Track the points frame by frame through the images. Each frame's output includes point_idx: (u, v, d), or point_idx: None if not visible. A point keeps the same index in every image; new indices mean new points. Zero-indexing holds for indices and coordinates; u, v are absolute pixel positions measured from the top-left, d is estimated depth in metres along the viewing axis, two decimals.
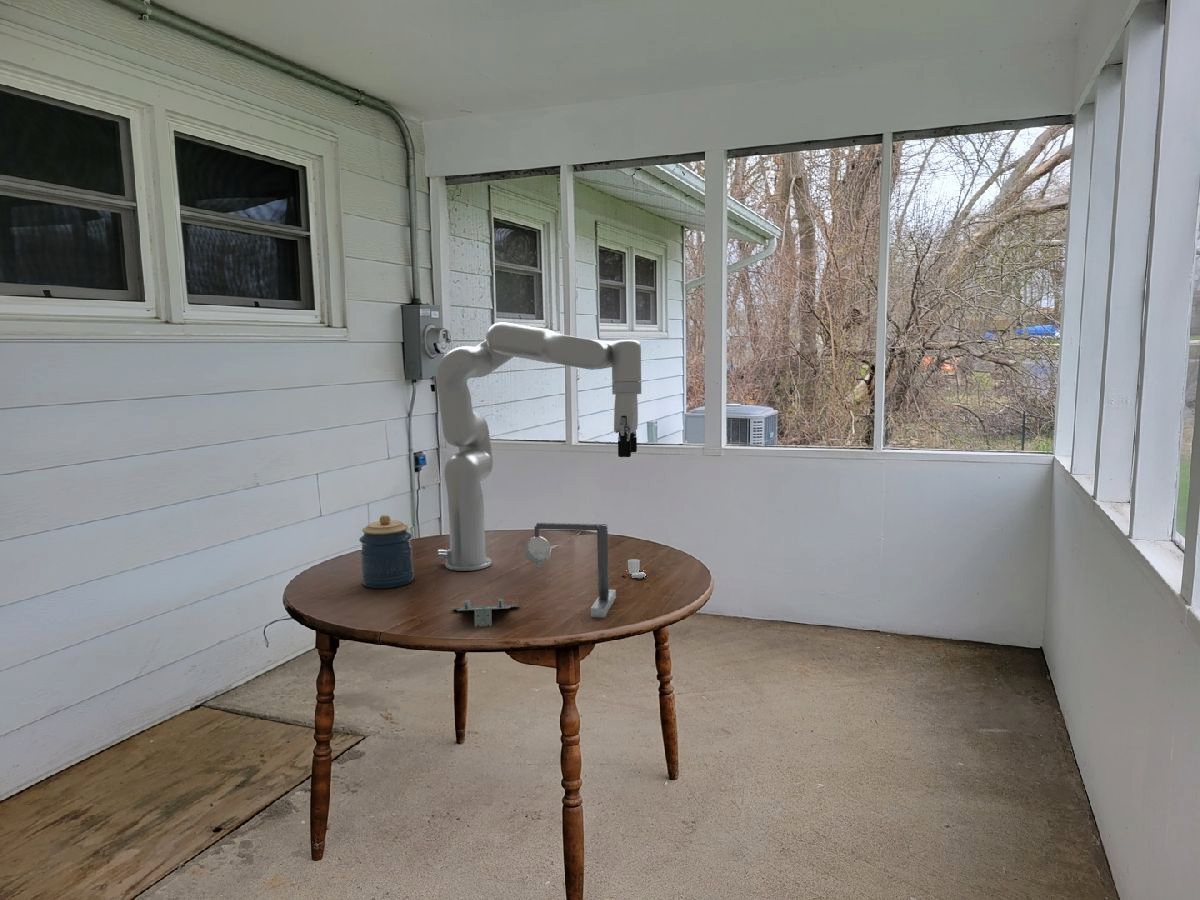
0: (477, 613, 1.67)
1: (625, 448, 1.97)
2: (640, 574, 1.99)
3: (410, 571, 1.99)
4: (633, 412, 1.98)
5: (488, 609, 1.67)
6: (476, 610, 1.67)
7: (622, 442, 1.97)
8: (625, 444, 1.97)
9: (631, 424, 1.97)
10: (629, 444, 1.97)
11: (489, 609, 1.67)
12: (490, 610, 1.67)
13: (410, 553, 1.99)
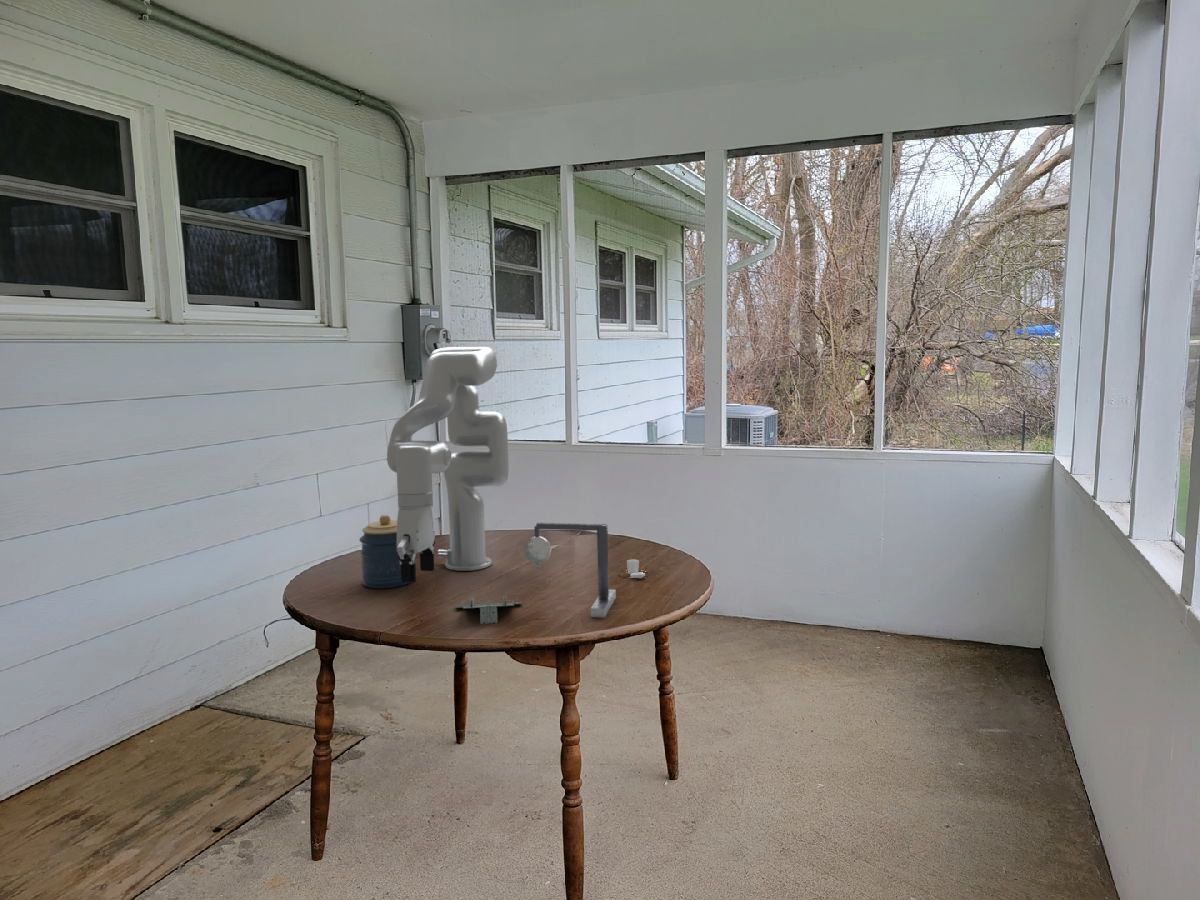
0: (483, 610, 1.69)
1: (408, 572, 1.68)
2: (639, 574, 1.99)
3: None
4: (419, 530, 1.69)
5: (493, 606, 1.69)
6: (482, 608, 1.69)
7: (404, 565, 1.68)
8: (408, 568, 1.68)
9: (415, 544, 1.68)
10: (413, 567, 1.68)
11: (494, 606, 1.69)
12: (495, 607, 1.69)
13: None
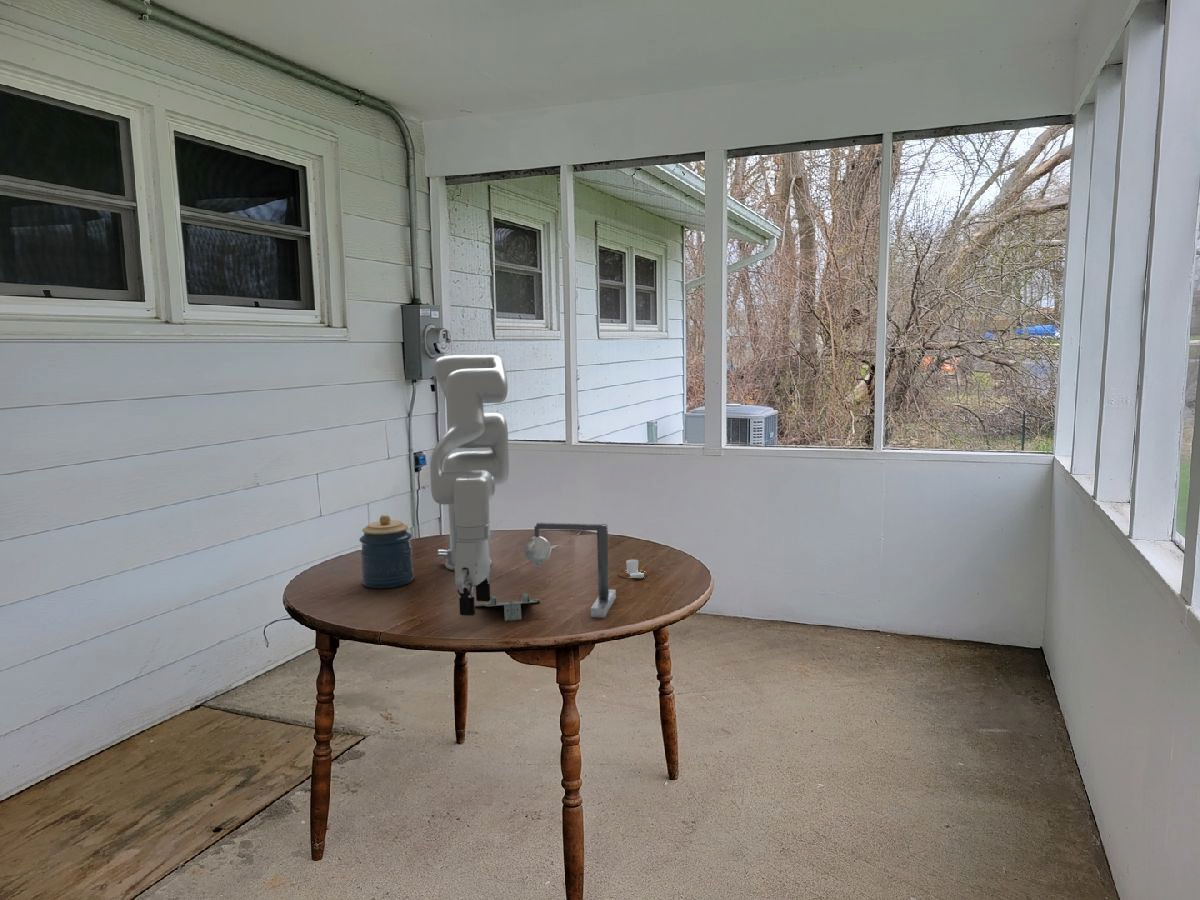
0: (507, 608, 1.70)
1: (467, 606, 1.67)
2: (638, 574, 1.99)
3: (410, 571, 1.99)
4: (477, 562, 1.68)
5: (517, 604, 1.71)
6: (506, 605, 1.70)
7: (463, 599, 1.67)
8: (467, 601, 1.67)
9: (474, 577, 1.67)
10: (472, 600, 1.67)
11: (518, 604, 1.71)
12: (519, 604, 1.71)
13: (410, 553, 1.99)
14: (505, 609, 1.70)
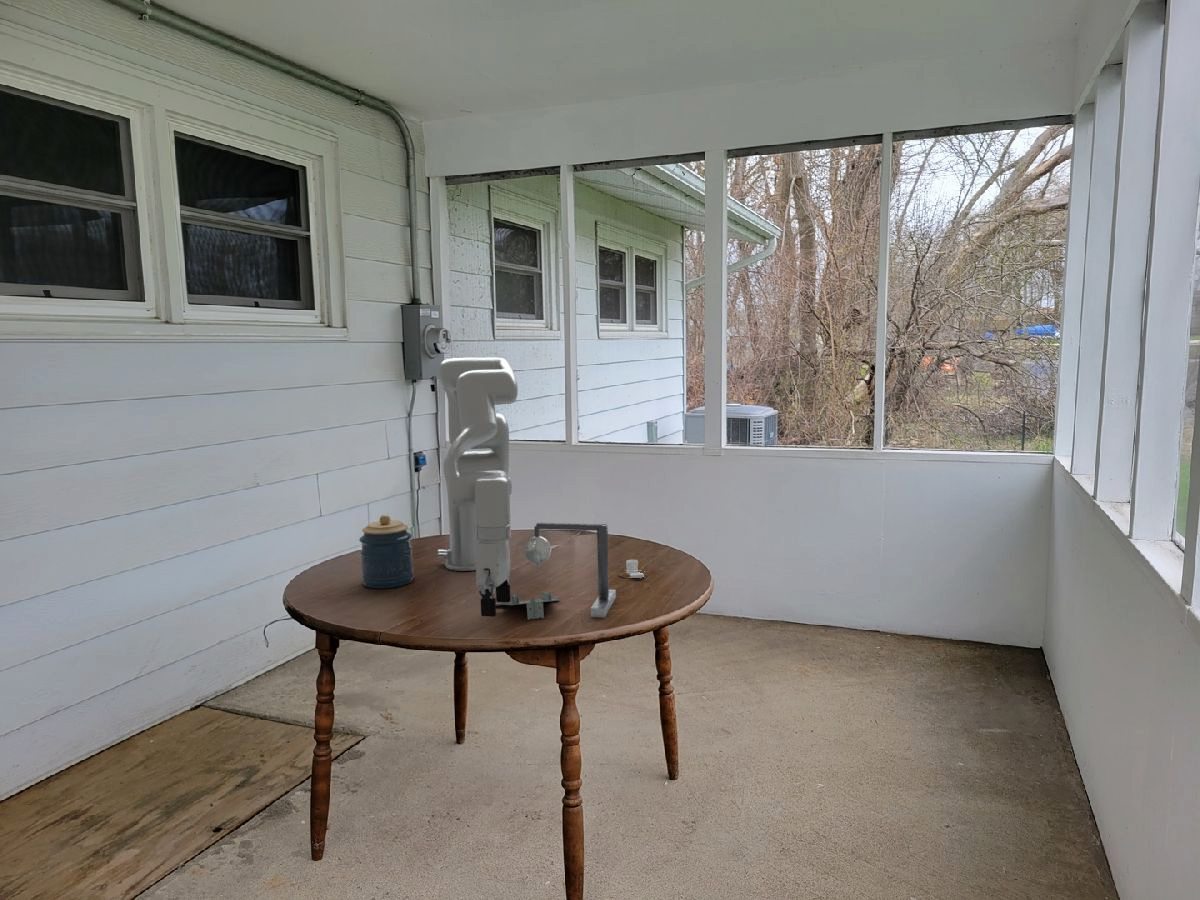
0: (529, 606, 1.71)
1: (488, 607, 1.66)
2: (638, 574, 1.98)
3: (410, 571, 1.99)
4: (498, 563, 1.67)
5: (540, 602, 1.72)
6: (528, 603, 1.71)
7: (485, 600, 1.66)
8: (488, 602, 1.66)
9: (495, 578, 1.66)
10: (494, 601, 1.66)
11: (541, 602, 1.72)
12: (541, 603, 1.72)
13: (410, 553, 1.99)
14: (528, 608, 1.71)
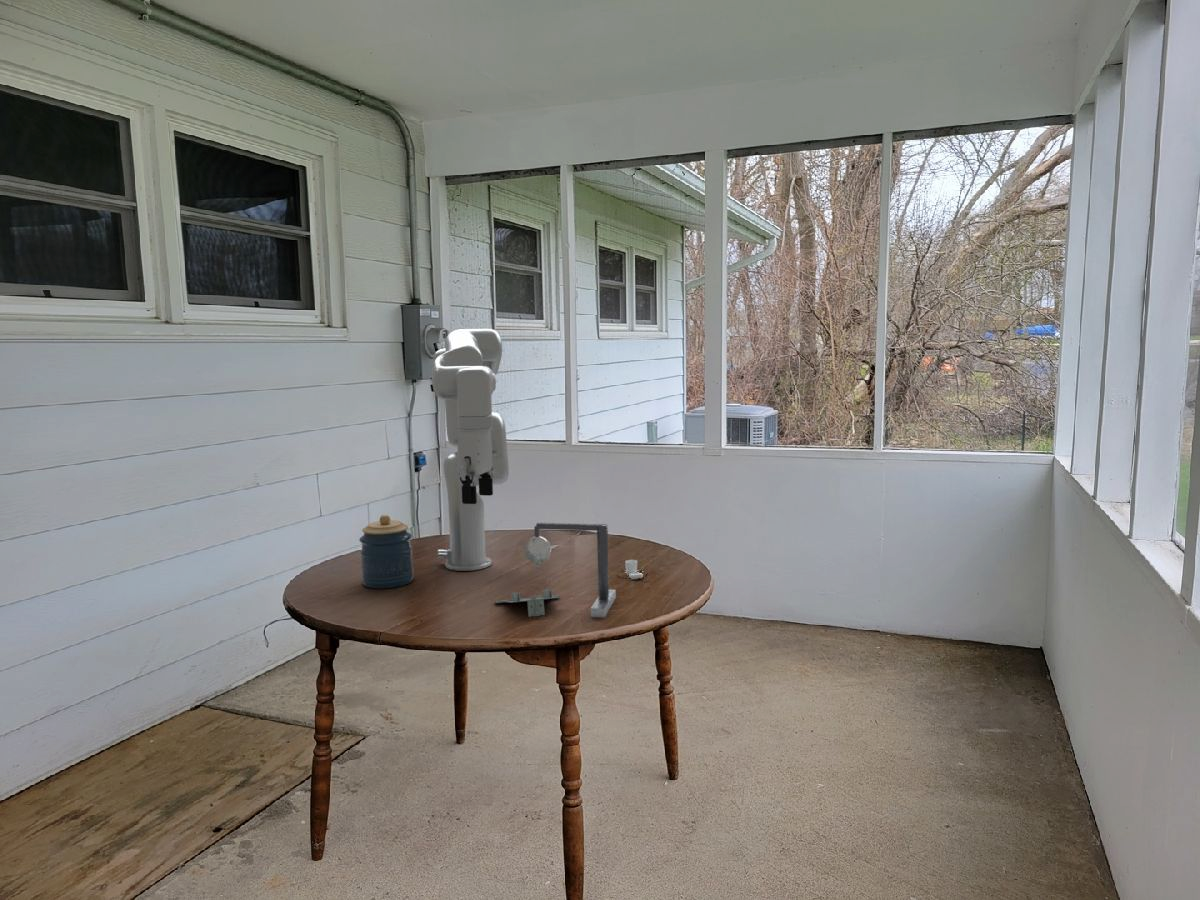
0: (530, 604, 1.73)
1: (469, 494, 1.70)
2: (637, 575, 1.98)
3: (410, 571, 1.99)
4: (479, 452, 1.70)
5: (540, 599, 1.73)
6: (529, 601, 1.73)
7: (465, 487, 1.69)
8: (469, 489, 1.69)
9: (476, 466, 1.69)
10: (474, 489, 1.70)
11: (541, 599, 1.73)
12: (542, 600, 1.73)
13: (410, 553, 1.99)
14: (529, 605, 1.72)
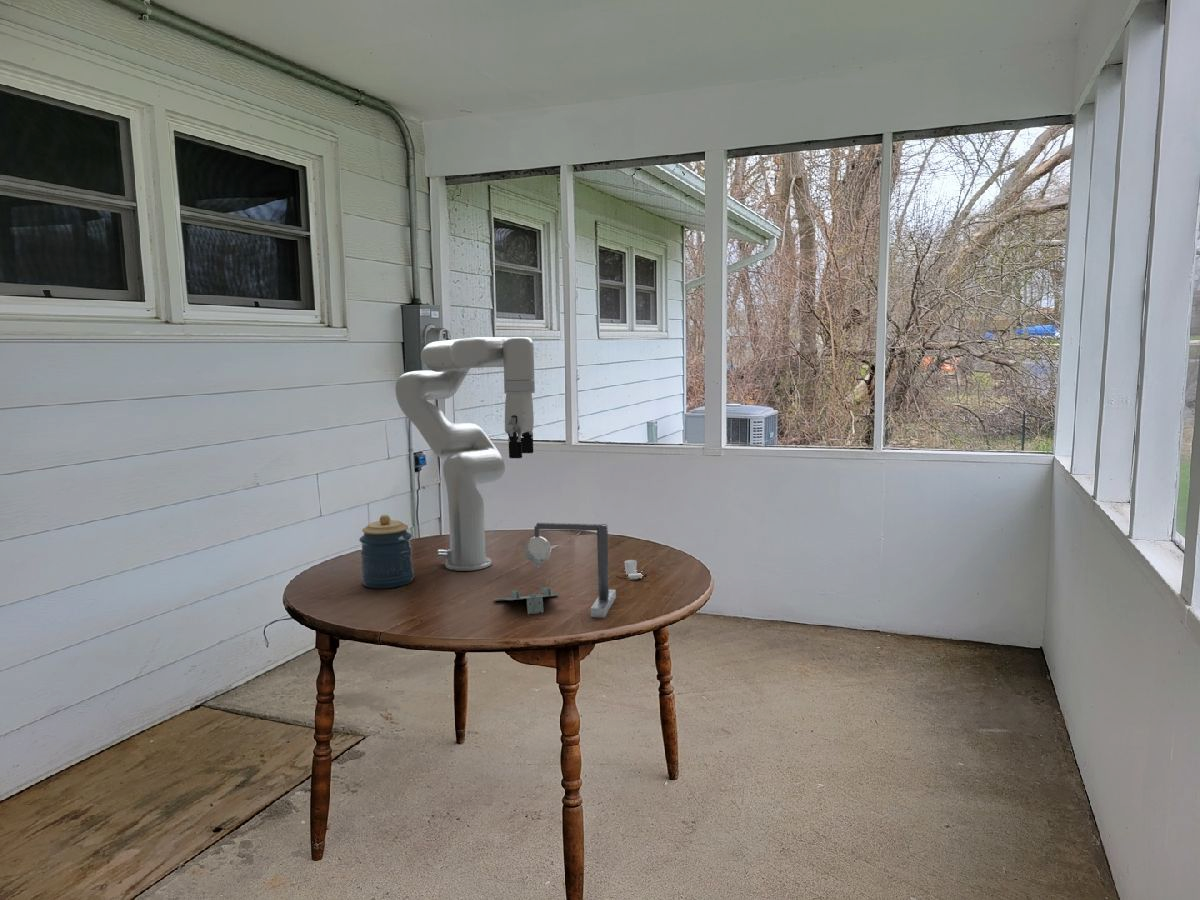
0: (529, 601, 1.74)
1: (515, 449, 1.90)
2: (637, 575, 1.98)
3: (410, 571, 1.99)
4: (524, 412, 1.91)
5: (539, 597, 1.75)
6: (528, 598, 1.74)
7: (512, 443, 1.90)
8: (515, 445, 1.90)
9: (522, 424, 1.90)
10: (520, 445, 1.90)
11: (540, 597, 1.75)
12: (541, 598, 1.75)
13: (410, 553, 1.99)
14: (528, 602, 1.74)
